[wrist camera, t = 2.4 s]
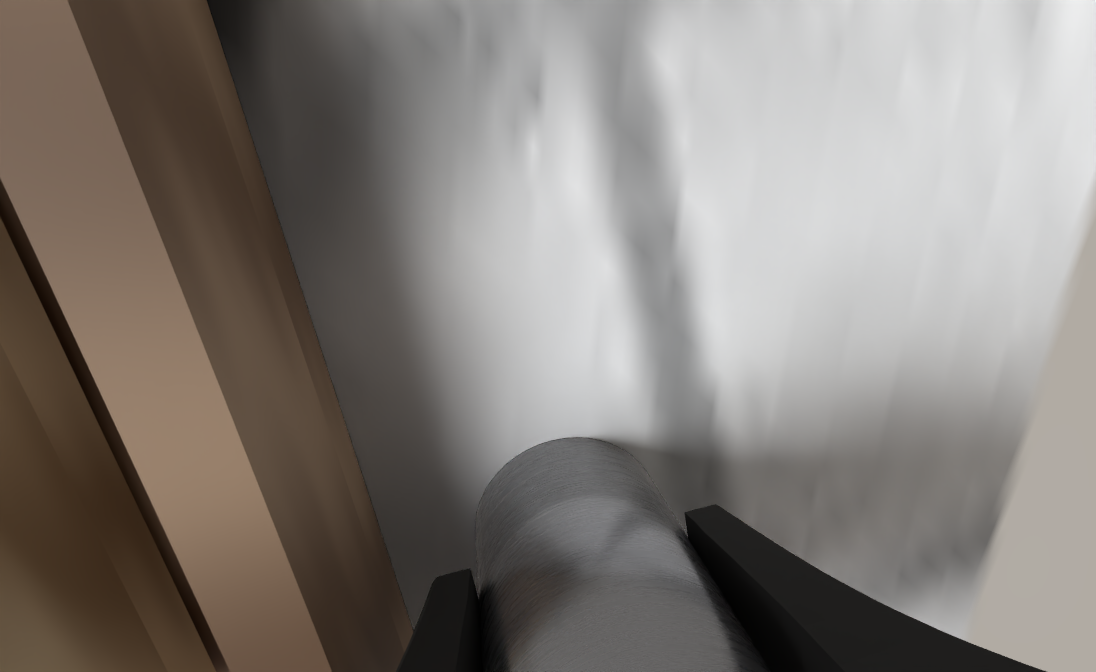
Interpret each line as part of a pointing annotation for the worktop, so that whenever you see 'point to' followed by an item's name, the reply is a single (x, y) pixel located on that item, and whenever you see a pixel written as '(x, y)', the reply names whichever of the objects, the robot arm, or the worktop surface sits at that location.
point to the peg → (595, 572)
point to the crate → (72, 520)
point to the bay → (191, 329)
